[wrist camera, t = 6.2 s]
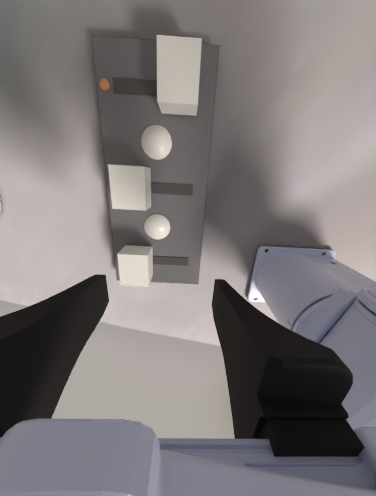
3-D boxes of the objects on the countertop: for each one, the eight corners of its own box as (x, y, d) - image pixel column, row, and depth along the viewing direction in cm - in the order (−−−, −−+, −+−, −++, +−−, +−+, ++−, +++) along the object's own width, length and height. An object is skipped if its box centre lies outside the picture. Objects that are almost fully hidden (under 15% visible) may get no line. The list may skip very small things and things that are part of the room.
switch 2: (152, 246, 20) (147, 255, 18) (153, 274, 21) (148, 286, 19) (125, 245, 20) (117, 254, 17) (127, 273, 21) (120, 285, 19)
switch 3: (199, 61, 14) (201, 38, 12) (196, 115, 15) (197, 104, 13) (161, 58, 14) (156, 34, 12) (161, 113, 15) (157, 101, 13)
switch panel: (216, 57, 15) (219, 44, 14) (197, 277, 23) (198, 284, 22) (100, 48, 15) (90, 34, 14) (121, 274, 23) (116, 280, 22)
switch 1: (150, 168, 17) (144, 166, 15) (151, 206, 18) (145, 210, 16) (118, 166, 17) (107, 164, 15) (121, 204, 18) (112, 208, 16)
